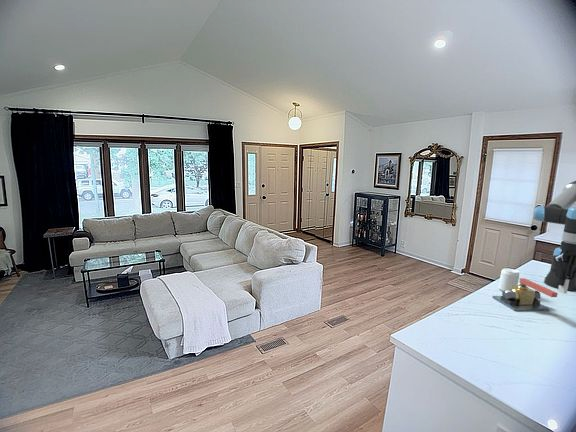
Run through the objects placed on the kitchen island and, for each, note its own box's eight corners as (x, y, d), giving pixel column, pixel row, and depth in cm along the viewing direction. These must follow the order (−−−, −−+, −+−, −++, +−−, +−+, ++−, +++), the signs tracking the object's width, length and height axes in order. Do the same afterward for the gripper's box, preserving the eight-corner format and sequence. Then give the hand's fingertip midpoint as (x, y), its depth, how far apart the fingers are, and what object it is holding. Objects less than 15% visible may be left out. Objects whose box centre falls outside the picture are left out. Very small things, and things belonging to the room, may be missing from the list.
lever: (518, 284, 150) (519, 278, 150) (523, 284, 151) (524, 278, 150) (550, 300, 133) (552, 292, 133) (556, 300, 134) (557, 292, 133)
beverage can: (519, 294, 163) (523, 273, 161) (504, 293, 163) (508, 272, 161) (509, 288, 171) (512, 268, 169) (495, 287, 171) (498, 267, 169)
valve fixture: (524, 297, 159) (527, 280, 157) (548, 310, 145) (552, 292, 143) (492, 297, 157) (495, 280, 155) (514, 310, 143) (517, 292, 142)
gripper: (577, 240, 137) (567, 288, 141) (551, 239, 136) (541, 288, 140) (595, 244, 129) (583, 295, 133) (567, 244, 128) (557, 295, 132)
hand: (562, 292), depth 137 cm, fingers closed
